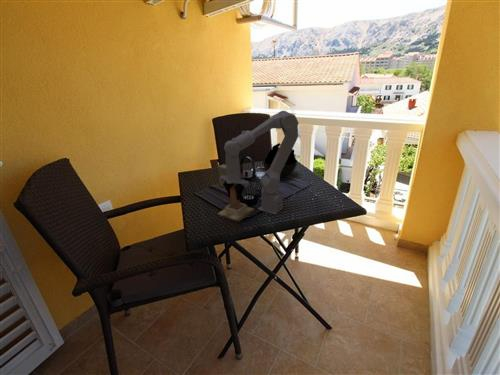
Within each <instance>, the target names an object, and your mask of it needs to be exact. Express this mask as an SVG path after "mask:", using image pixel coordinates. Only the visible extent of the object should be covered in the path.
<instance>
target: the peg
mask: <svg viewBox="0 0 500 375" xmlns="http://www.w3.org/2000/svg"><path fill="white" fill-rule="evenodd" d="M234 186H235V185H233V186H232V187H230V204H231V205H232V206H238V205H240V203H241V199H240V200H237V195H236V191H235V188H234Z"/></svg>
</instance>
